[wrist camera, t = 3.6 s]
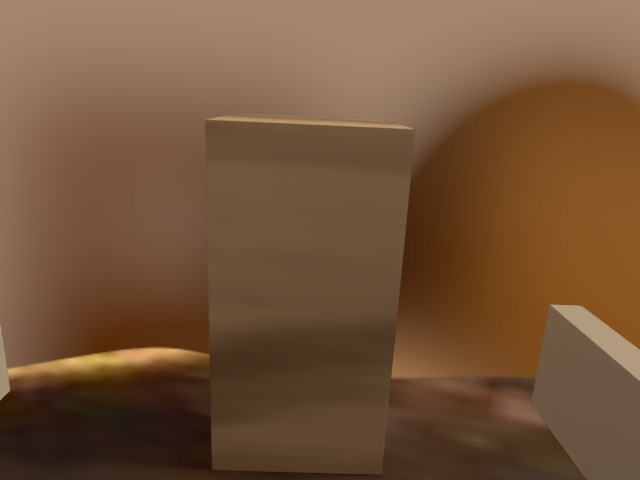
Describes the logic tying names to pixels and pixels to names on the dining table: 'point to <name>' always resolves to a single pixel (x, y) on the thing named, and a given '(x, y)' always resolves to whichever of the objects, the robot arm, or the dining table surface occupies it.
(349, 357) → the maple block
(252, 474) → the dining table surface
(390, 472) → the dining table surface
